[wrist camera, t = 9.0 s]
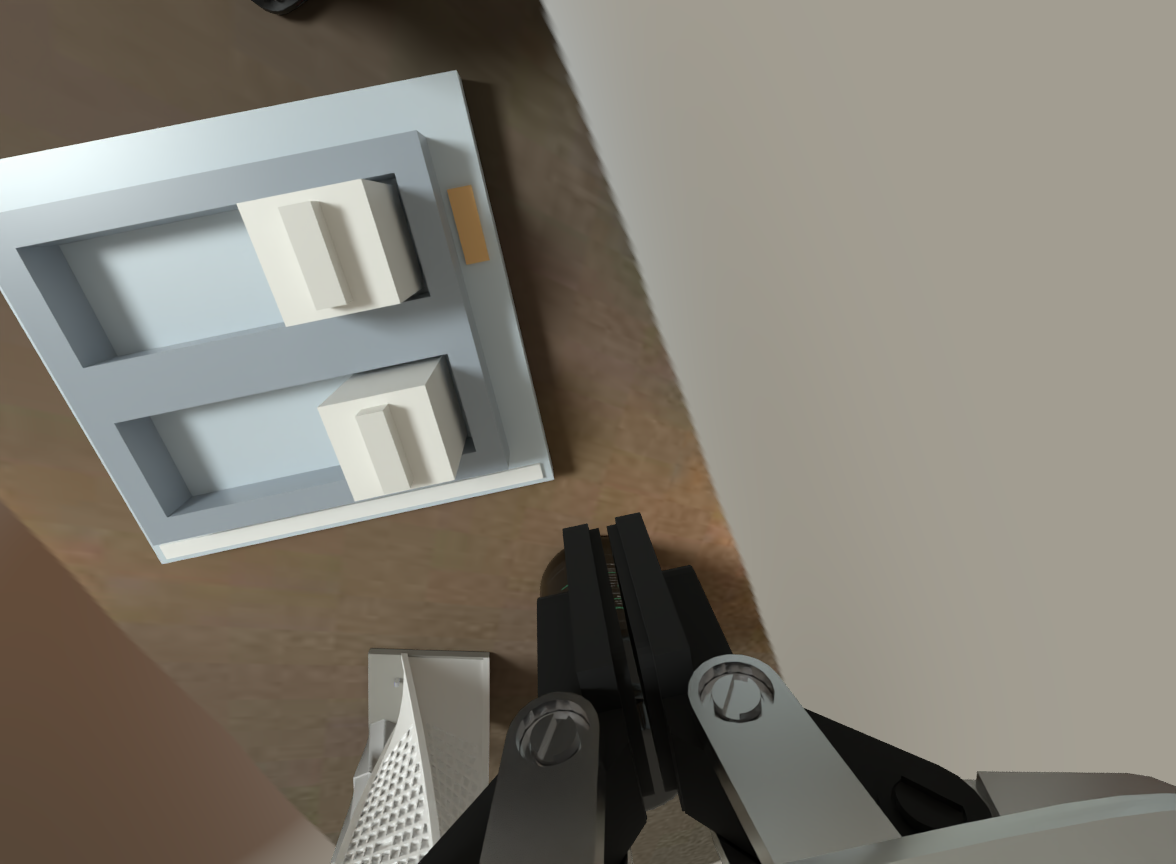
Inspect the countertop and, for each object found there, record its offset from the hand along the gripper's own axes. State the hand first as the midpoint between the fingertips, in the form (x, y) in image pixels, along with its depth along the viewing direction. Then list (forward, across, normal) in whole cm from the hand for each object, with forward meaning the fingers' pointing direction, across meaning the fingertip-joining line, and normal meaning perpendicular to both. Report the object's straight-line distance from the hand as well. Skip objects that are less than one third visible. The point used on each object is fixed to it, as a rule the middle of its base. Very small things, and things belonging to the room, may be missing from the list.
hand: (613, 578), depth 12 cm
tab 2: (+15, +7, -1) cm, 17 cm away
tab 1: (+15, +7, -8) cm, 19 cm away
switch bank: (+17, +12, -4) cm, 21 cm away
